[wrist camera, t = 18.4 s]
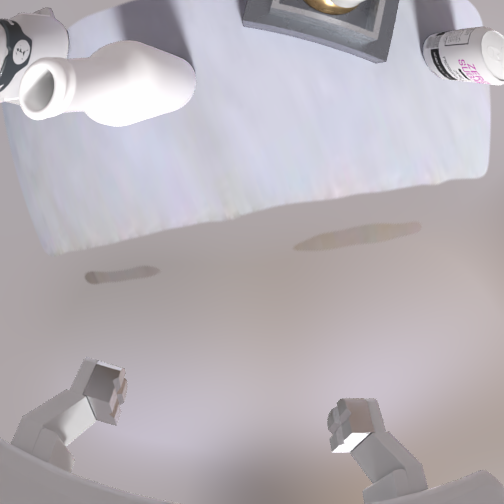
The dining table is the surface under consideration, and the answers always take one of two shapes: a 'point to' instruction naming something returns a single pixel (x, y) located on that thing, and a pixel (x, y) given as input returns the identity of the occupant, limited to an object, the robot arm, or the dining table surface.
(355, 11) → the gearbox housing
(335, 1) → the drinking glass
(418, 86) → the dining table surface
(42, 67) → the white bottle
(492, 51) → the supplement can
